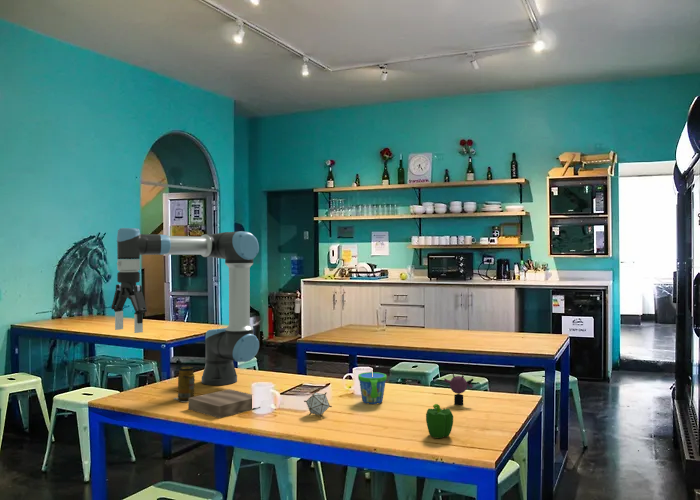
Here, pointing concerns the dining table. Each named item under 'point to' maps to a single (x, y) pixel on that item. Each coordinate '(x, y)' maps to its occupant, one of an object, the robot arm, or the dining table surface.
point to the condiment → (185, 384)
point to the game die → (318, 403)
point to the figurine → (458, 387)
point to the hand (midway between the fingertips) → (128, 331)
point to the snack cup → (372, 387)
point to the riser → (221, 403)
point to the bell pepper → (439, 421)
